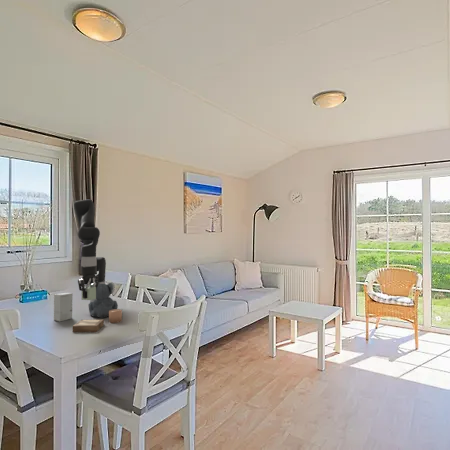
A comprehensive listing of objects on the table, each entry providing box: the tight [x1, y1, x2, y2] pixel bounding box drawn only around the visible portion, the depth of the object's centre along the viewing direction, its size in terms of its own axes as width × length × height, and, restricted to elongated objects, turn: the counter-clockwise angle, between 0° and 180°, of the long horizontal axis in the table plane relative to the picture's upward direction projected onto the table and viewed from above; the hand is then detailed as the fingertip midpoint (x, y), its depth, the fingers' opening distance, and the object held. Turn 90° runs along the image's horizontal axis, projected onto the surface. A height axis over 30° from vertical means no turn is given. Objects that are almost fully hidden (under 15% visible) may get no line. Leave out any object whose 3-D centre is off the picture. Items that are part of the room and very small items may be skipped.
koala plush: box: [88, 281, 119, 319], centre depth 208 cm, size 17×18×20 cm
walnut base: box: [72, 318, 105, 333], centre depth 179 cm, size 12×12×3 cm
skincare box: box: [53, 292, 73, 322], centre depth 197 cm, size 8×6×15 cm
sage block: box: [81, 287, 96, 301], centre depth 179 cm, size 5×5×6 cm
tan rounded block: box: [108, 308, 123, 324], centre depth 193 cm, size 7×7×6 cm
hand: (88, 297), depth 179 cm, fingers closed on sage block, 5 cm apart
